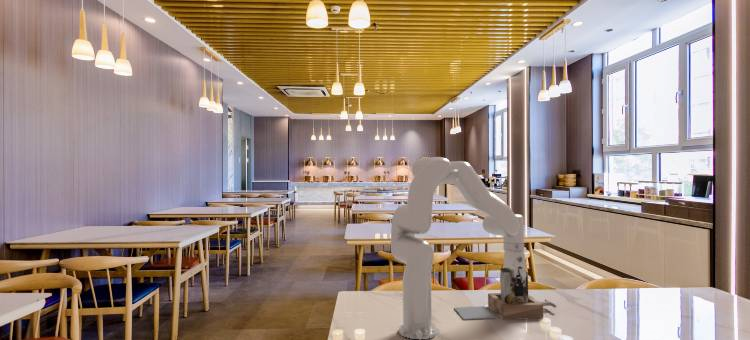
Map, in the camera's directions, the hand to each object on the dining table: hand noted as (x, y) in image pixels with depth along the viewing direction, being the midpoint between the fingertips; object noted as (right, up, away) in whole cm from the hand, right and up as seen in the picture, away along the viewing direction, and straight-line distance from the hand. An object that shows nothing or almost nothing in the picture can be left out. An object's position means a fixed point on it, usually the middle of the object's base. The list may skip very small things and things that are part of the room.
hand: (514, 292), depth 152 cm
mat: (-16, -7, -2) cm, 18 cm away
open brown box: (+4, -7, 0) cm, 8 cm away
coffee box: (0, -8, 0) cm, 8 cm away
